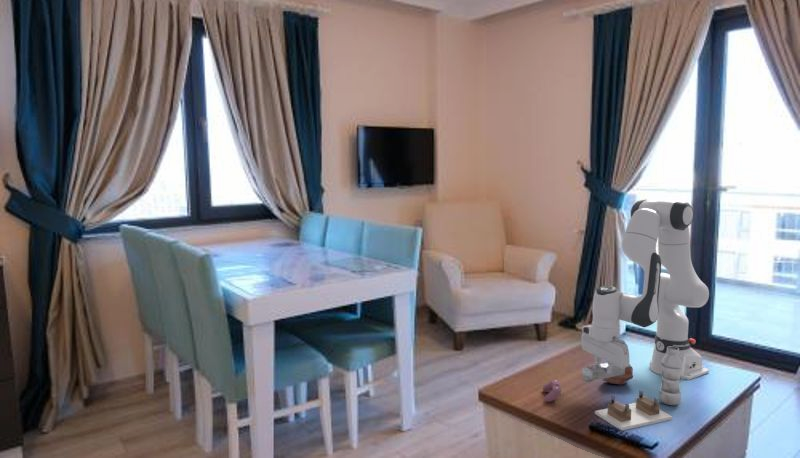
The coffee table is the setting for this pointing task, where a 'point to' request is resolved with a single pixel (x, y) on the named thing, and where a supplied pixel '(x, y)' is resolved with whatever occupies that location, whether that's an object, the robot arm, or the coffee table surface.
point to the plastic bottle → (671, 377)
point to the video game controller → (555, 392)
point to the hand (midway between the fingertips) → (603, 370)
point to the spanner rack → (633, 413)
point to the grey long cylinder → (600, 372)
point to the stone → (621, 376)
